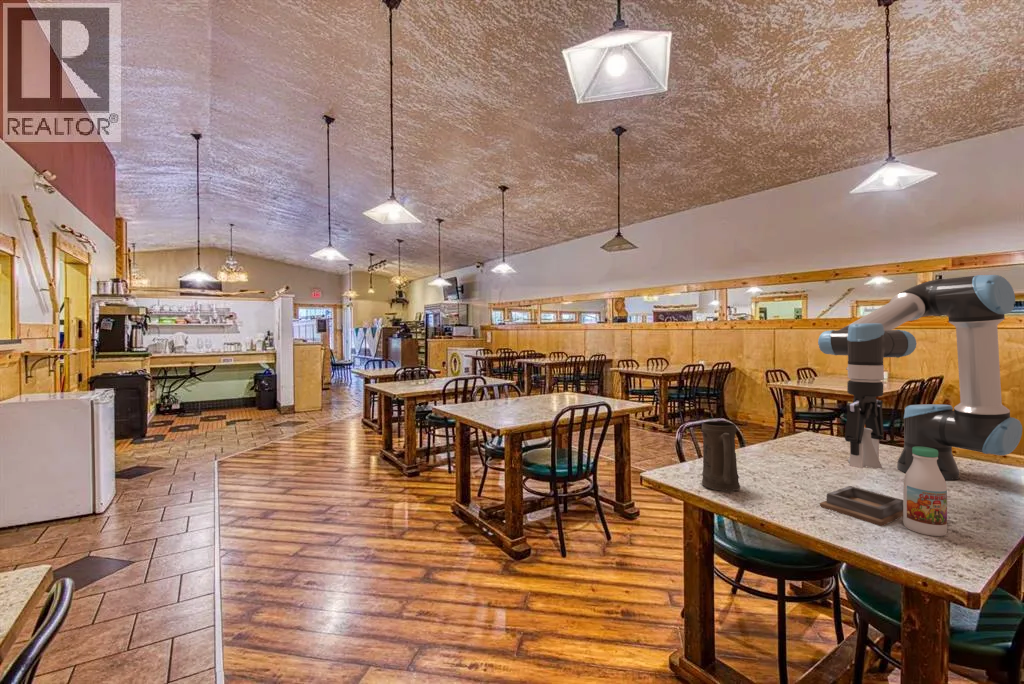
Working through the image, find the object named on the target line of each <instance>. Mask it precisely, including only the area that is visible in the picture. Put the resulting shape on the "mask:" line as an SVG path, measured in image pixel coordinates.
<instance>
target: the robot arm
mask: <svg viewBox="0 0 1024 684" xmlns="http://www.w3.org/2000/svg"><path fill="white" fill-rule="evenodd" d="M1015 304H1016V295H1015V291H1014V288H1013V287H1012V284H1011V283H1010V282H1009V281H1008V279H1006V277H1003V276H1001V275H999V274H976V275H970V276H959V277H951V278H940V279H937V278H936V279H933V280H928V281H924V282H922V283H919V284H917V285H914V286H912V287H910V288H908V289H905V290H903V291H901V292H899V293H897V294H895V295H894V296H893V297H891V299H890V301H889V302H888V303H886V304H884V305H882V306H881V307H879V308H877V309H875V310H874V311H871V312H869V313H868V314H866V315H864V316H862V317H861V318H859V319H857V320H855V321H853V322H852V323H849V324H847V325H846V326H844V327H843V328H840V329H838V330H837V329H836V330H834V329H832V330H824V331H823V332H822V333H821V334H819V336H818V341H817V343H818V348H819V350H820V352H822V353H823V354H825V355H831V356H847V367H846V371H847V378H848V379H849V380H848V381H847V382H846V383H847V387H846V388H847V393H848V394H849V395H852V396H853V401H852V403H849V402H848V403H846V413H847V414H846V424H845V435H844V440H845V442H849V457H850V464H849V467H850V466H851V467H853V468H859V469H864V468H863V443H861V441H862V436H863V432H864V428H869V429H872V430H873V431H872V432H871V439H872V444H873V447H874V449H875V452H876V454H877V456H878V459H879V458H880V440H884V439H885V436H884V435H885V434H884V420H883V419H884V418H883V400H881V399H880V400H879V399H877V397H882V396H883V395H884V382H883V380H884V379H885V378H884V377H885V374H884V372H885V370H884V368H885V367H884V366H885V365H884V358H896V359H899V358H902V357H906V356H910V355H911V354H912V353H914V352H915V350H916V348H917V339H916V337H915V336H914V335H913V334H912V333H911V332H909V331H906V330H900V329H896V328H898V327H899V326H901V325H903V324H905V323H907V322H909V321H910V322H912V321H916V320H918V319H920V318H923V317H934V316H935V317H937V316H943V317H944V316H947V317H948V323H949V324H950V325H953V326H954V327H955V332H956V333H955V334H956V335H955V336H956V349H957V350H956V351H957V363H958V364H957V365H958V366H957V367H958V379H959V380H958V382H959V383H958V386H959V397H960V398H959V399H960V400H959V401H960V402H959V403H958V404H956V405H955V406H954V407H953V406H952V405H951V404H941V403H940V404H936V403H935V404H930V403H928V404H927V403H926V404H909V405H907V406H906V407H905V408H904V414H903V425H904V426H903V427H904V430H903V433H904V435H903V436H904V437H903V441H904V442H903V449H902V451H901V453H900V455H899V457H898V459H897V462H896V463H897V464H896V466H897V467H896V468H897V470H899V471H901V472H903V473H905V474H906V472H907V470H908V469H909V467H910V466H911V464H912V462H913V456H912V454H913V453H912V448H913V447H915V446H921V447H929V448H933V449H936V450H938V459H937V465H938V467H939V470H940V472H941V473H942V475H943V477H944V479H945V481H947V480H949V481H952V480H957V479H959V478H960V470H959V467H958V465H957V462H956V460H955V457H954V455H953V449H952V448H955V449H956V448H957V449H963V450H968V451H974V452H978V453H982V454H984V455H985V454H986V455H994V456H1006V455H1009V454H1011V453H1012V452H1014V450H1016V449H1017V446H1018V445H1019V443H1020V441H1021V439H1022V435H1023V424H1022V423H1021V421H1020V420H1019V419H1017V418H1015V417H1012V416H1011V412H1010V411H1011V410H1010V409H1009V408H1008V407H1006V406H1005V405H1004V404H1002V387H1001V369H1000V367H1001V365H1000V351H999V349H1000V348H999V335H998V334H999V331H998V325H999V324H1000V323H1002V322H1003V321H1005V319H1006V318H1005V315H1007V314H1010V313H1011V312H1012V311H1013V310H1014V308H1015ZM879 460H880V459H879Z"/></svg>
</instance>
